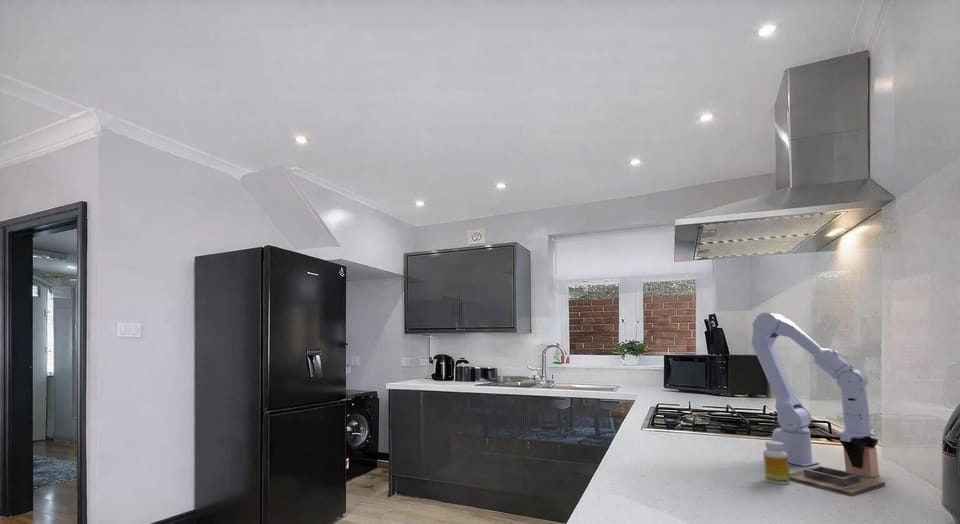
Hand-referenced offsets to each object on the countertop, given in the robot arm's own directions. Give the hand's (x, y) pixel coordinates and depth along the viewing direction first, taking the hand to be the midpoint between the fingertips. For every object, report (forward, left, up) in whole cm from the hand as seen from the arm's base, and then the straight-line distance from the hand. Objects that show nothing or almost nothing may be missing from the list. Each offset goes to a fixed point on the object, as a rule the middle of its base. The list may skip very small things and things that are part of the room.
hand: (861, 466), depth 133 cm
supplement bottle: (-7, -27, -2) cm, 28 cm away
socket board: (0, -15, -2) cm, 15 cm away
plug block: (0, 0, -2) cm, 2 cm away
